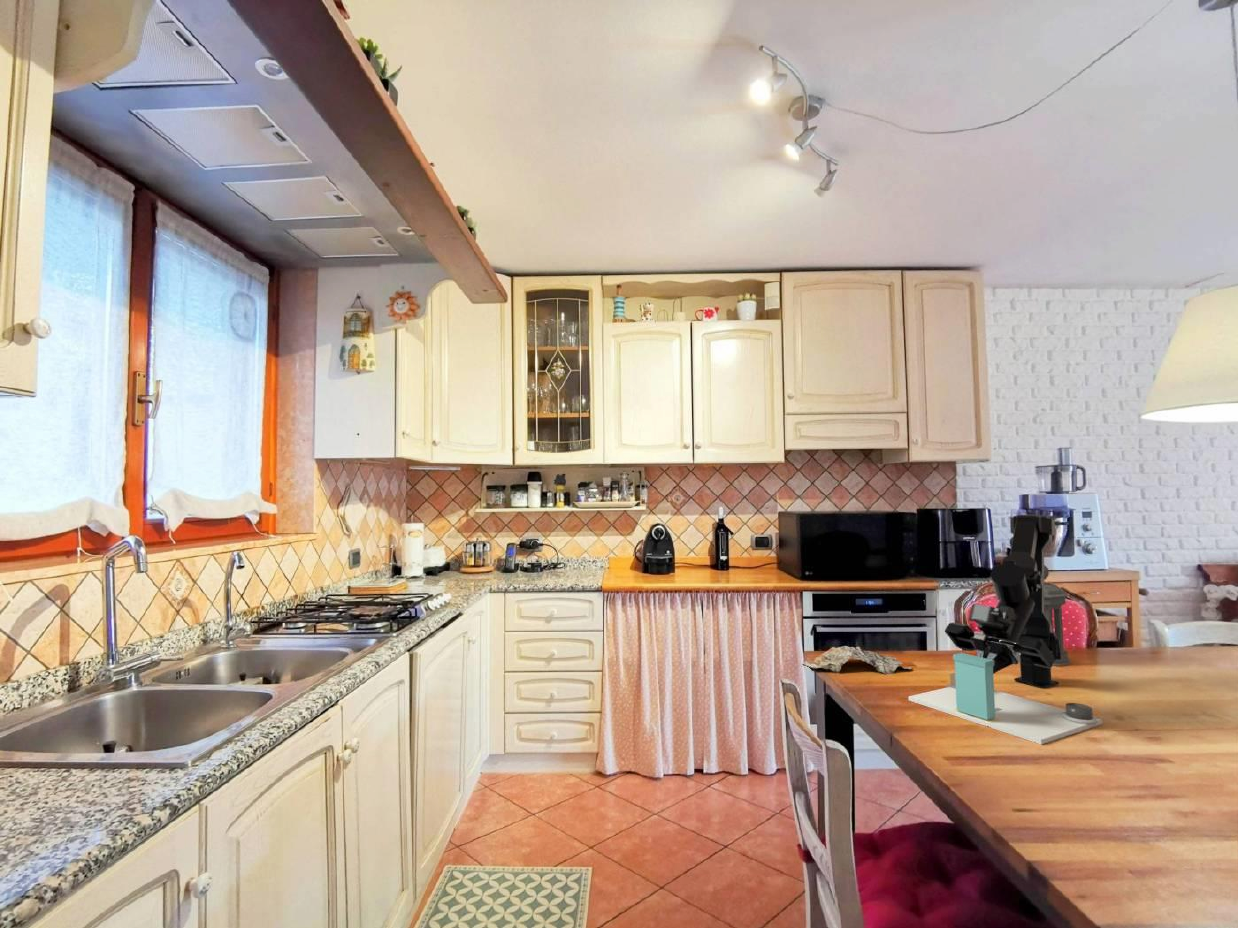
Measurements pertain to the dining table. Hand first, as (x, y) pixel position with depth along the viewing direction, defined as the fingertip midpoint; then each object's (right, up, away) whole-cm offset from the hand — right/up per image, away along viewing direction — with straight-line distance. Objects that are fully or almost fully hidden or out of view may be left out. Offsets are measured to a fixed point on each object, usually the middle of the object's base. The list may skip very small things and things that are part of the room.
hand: (979, 678), depth 116 cm
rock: (-9, -11, +36) cm, 39 cm away
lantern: (+40, -10, +42) cm, 59 cm away
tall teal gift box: (-1, -6, -1) cm, 7 cm away
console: (+6, -8, +3) cm, 10 cm away
